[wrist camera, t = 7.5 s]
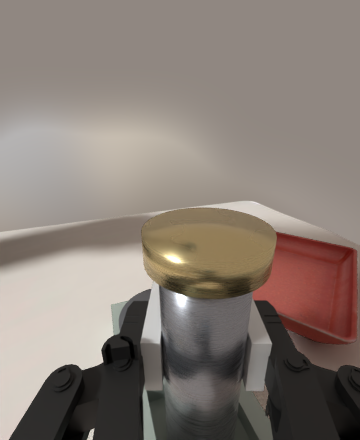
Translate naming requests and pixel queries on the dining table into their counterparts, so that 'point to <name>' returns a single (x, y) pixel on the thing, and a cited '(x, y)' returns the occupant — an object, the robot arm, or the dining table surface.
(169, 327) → the pin
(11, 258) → the dining table surface
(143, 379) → the robot arm
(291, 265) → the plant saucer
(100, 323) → the dining table surface
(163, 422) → the base
